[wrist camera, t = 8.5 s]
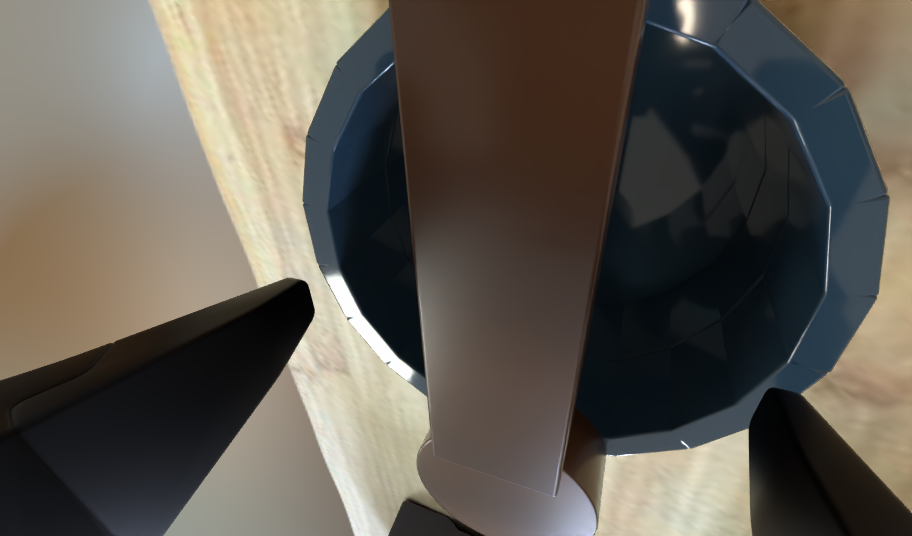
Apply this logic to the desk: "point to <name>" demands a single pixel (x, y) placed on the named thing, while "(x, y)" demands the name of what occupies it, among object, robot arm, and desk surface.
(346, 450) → the desk surface
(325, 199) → the pot
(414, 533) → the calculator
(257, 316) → the robot arm
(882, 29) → the desk surface
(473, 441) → the spoon
